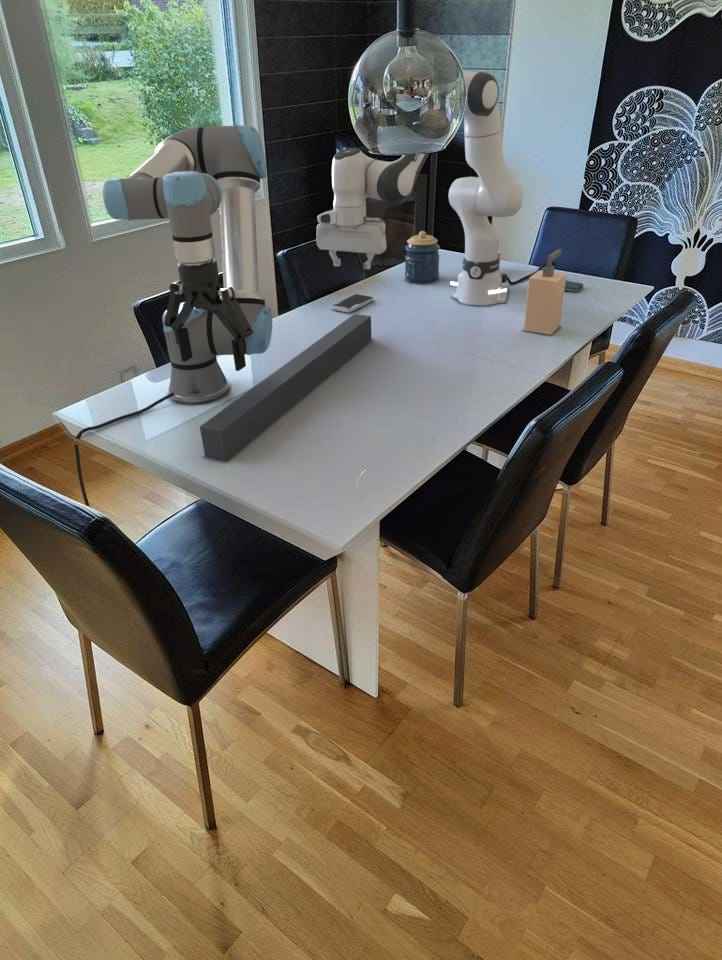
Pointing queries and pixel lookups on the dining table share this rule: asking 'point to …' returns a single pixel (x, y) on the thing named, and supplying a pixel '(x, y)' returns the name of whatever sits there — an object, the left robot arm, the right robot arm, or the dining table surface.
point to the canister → (422, 259)
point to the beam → (282, 389)
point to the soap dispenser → (545, 299)
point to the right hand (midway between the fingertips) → (352, 267)
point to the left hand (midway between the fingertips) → (213, 363)
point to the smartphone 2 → (573, 286)
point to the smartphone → (352, 303)
